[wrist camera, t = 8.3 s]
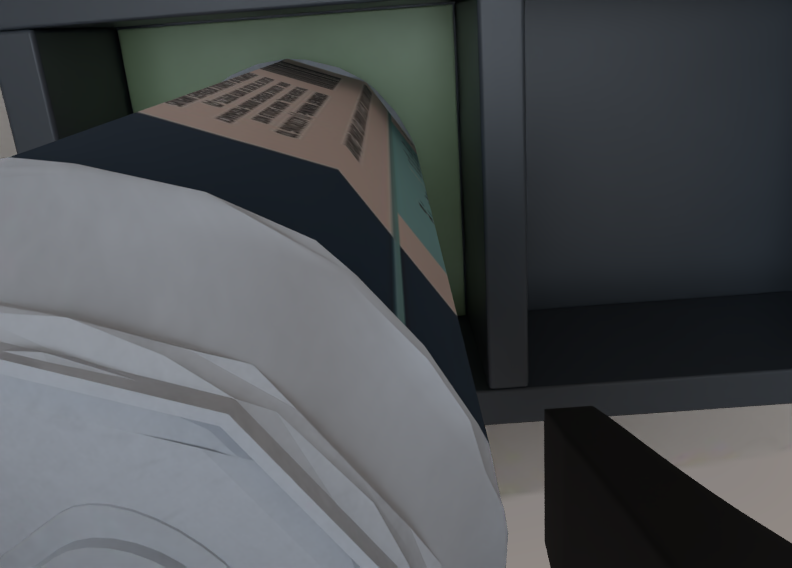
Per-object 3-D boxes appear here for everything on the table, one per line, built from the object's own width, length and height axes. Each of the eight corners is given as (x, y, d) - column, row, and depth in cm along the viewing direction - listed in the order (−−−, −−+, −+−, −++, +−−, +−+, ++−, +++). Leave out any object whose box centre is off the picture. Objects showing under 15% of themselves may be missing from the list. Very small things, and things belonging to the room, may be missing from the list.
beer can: (131, 160, 14) (-827, 675, 3) (315, 2, 13) (-67, -116, 2) (289, 335, 16) (40, 1146, 4) (467, 202, 15) (743, 799, 3)
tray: (805, 307, 16) (933, 394, 13) (159, 354, 17) (91, 454, 13) (854, -69, 14) (1036, -104, 10) (85, -9, 14) (-29, -21, 10)
